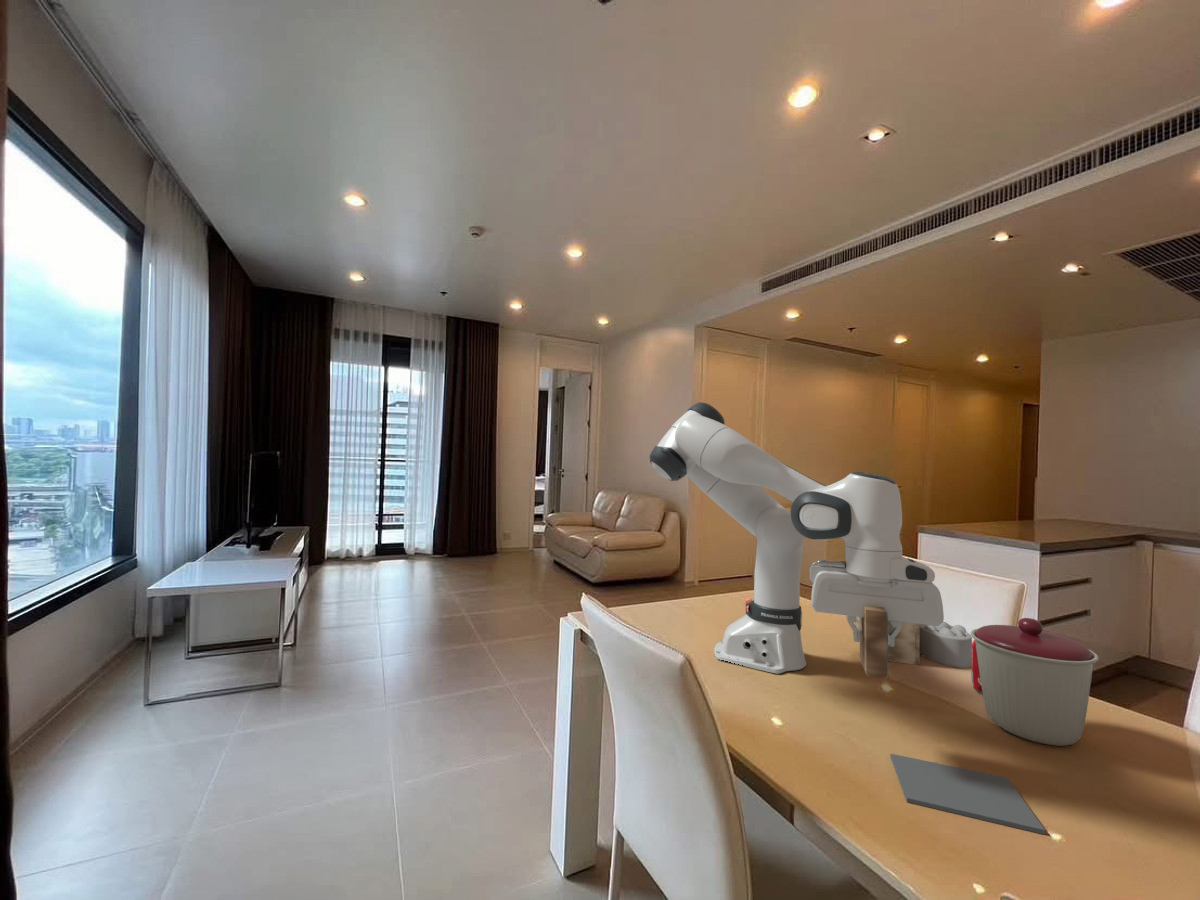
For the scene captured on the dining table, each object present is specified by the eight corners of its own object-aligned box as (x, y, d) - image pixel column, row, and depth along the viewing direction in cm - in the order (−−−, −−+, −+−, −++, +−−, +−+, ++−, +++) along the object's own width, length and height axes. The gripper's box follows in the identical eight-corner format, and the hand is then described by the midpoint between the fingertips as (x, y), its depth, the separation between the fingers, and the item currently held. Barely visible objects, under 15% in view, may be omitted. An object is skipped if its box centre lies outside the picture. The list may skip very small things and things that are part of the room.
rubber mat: (906, 802, 70) (906, 797, 70) (890, 757, 81) (890, 753, 81) (1045, 834, 64) (1045, 830, 64) (1007, 781, 76) (1007, 777, 76)
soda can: (1020, 703, 102) (1019, 646, 103) (982, 699, 104) (982, 643, 104) (1000, 688, 109) (999, 635, 110) (964, 685, 111) (964, 632, 111)
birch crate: (866, 657, 126) (866, 611, 126) (854, 631, 146) (855, 592, 147) (919, 665, 122) (919, 617, 122) (900, 637, 142) (900, 596, 143)
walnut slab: (866, 675, 81) (866, 609, 81) (859, 656, 89) (859, 596, 89) (888, 679, 79) (888, 612, 80) (880, 659, 88) (879, 599, 88)
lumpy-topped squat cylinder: (949, 650, 133) (949, 618, 134) (984, 669, 120) (984, 634, 121) (911, 648, 134) (911, 616, 134) (942, 667, 121) (941, 632, 121)
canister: (1068, 769, 79) (1066, 640, 80) (951, 716, 96) (950, 610, 97) (1120, 746, 86) (1118, 628, 87) (1003, 701, 103) (1002, 602, 104)
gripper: (809, 561, 86) (809, 639, 85) (946, 573, 78) (947, 659, 78) (808, 556, 92) (808, 629, 91) (935, 566, 84) (936, 646, 84)
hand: (873, 643), depth 84 cm, fingers closed on walnut slab, 3 cm apart
